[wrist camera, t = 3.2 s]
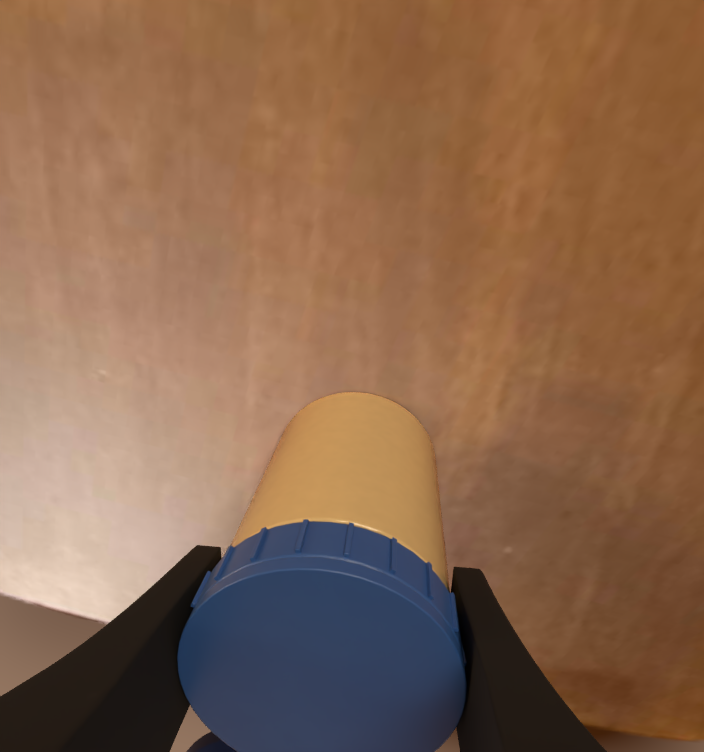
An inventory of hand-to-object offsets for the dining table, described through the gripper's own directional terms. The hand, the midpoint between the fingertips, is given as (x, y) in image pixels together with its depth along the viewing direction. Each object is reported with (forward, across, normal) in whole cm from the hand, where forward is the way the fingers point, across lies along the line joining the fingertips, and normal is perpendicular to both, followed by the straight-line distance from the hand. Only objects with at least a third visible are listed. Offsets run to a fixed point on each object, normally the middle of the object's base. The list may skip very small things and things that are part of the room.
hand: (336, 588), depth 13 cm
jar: (+6, 0, 0) cm, 6 cm away
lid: (-2, 0, 0) cm, 2 cm away
